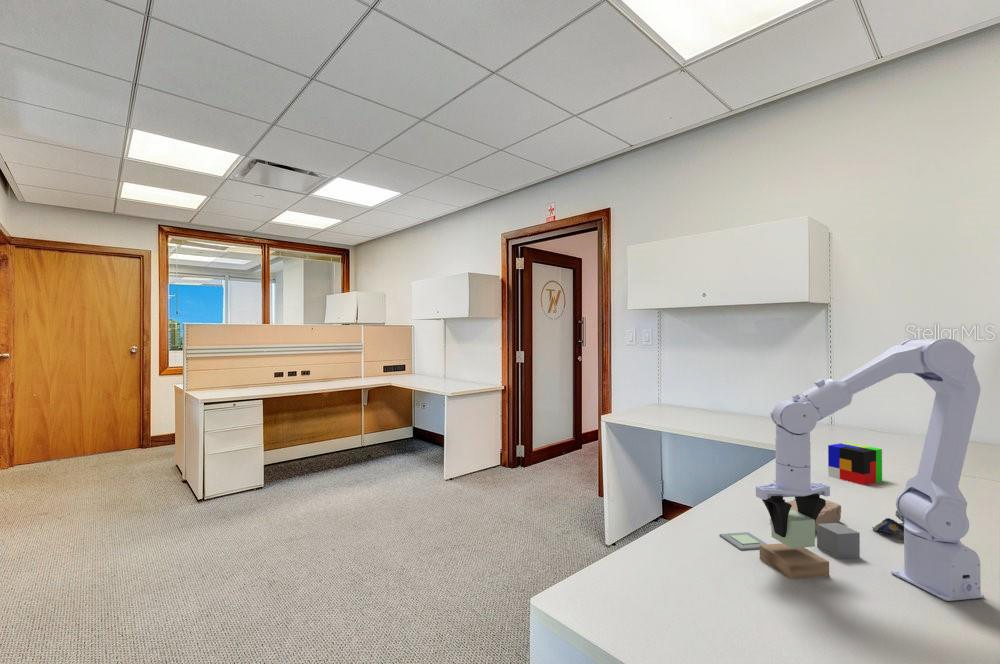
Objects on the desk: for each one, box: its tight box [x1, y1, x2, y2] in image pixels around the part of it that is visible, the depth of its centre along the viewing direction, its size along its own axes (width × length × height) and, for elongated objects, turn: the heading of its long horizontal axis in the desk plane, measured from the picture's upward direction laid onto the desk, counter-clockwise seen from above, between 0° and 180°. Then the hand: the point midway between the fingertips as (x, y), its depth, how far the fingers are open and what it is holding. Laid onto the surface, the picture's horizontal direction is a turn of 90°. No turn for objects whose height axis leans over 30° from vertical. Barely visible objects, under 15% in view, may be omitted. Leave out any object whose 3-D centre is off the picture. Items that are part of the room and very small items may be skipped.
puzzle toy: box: [827, 442, 883, 486], centre depth 144 cm, size 10×10×10 cm
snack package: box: [871, 509, 904, 537], centre depth 102 cm, size 12×7×12 cm
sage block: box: [770, 510, 816, 548], centre depth 88 cm, size 5×5×5 cm
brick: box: [769, 498, 842, 532], centre depth 109 cm, size 17×8×5 cm, turn 120°
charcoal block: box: [816, 522, 861, 560], centre depth 94 cm, size 5×5×5 cm
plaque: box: [719, 531, 768, 551], centre depth 98 cm, size 7×7×1 cm
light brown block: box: [759, 542, 830, 580], centre depth 88 cm, size 8×8×3 cm
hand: (793, 534), depth 88 cm, fingers closed on sage block, 5 cm apart
